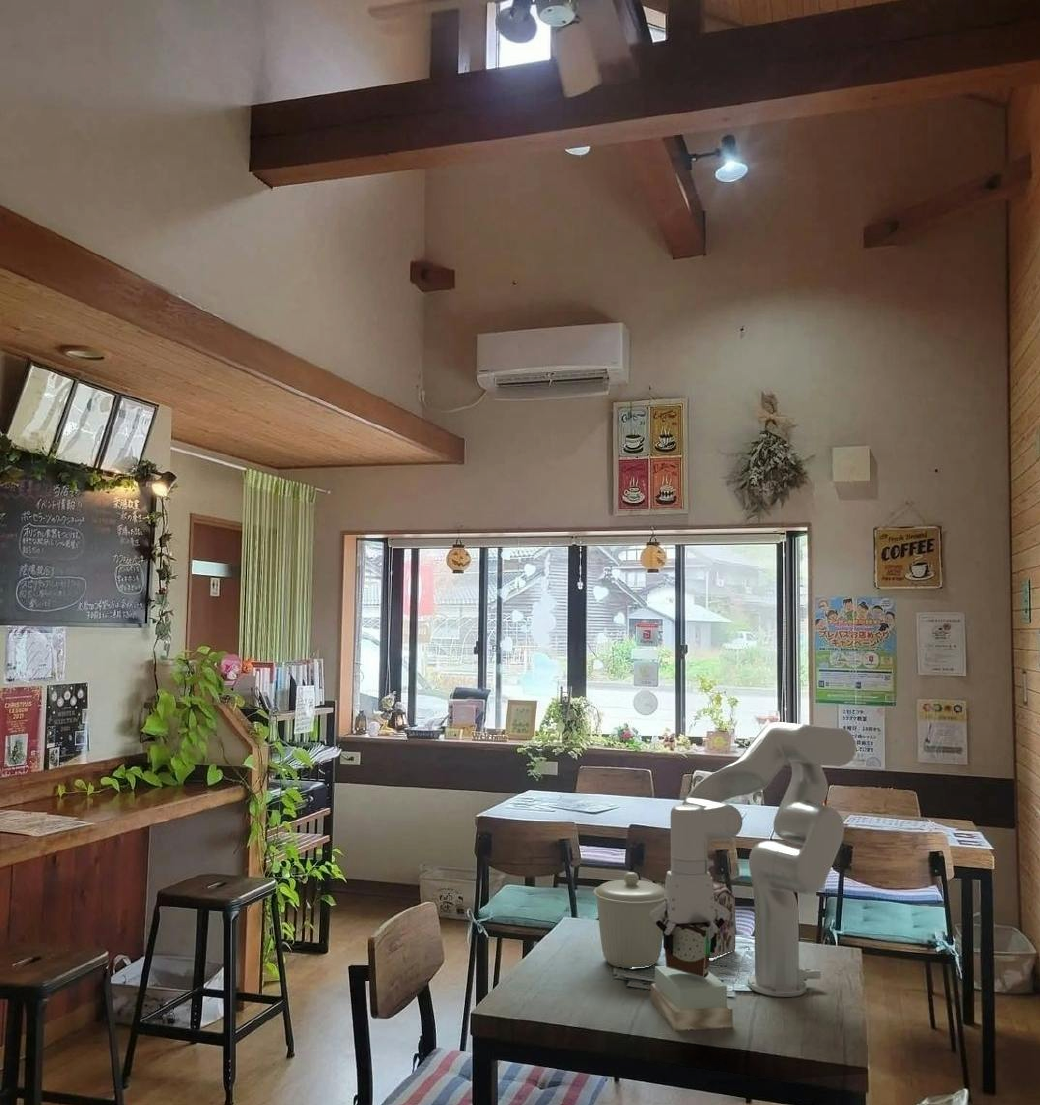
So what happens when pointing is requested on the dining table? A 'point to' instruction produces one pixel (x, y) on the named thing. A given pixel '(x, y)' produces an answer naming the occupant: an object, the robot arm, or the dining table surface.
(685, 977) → the upper slab
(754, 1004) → the dining table surface
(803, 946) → the dining table surface
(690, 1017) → the lower slab
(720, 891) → the decorative jar
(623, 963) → the canister
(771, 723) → the robot arm
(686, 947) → the food container
